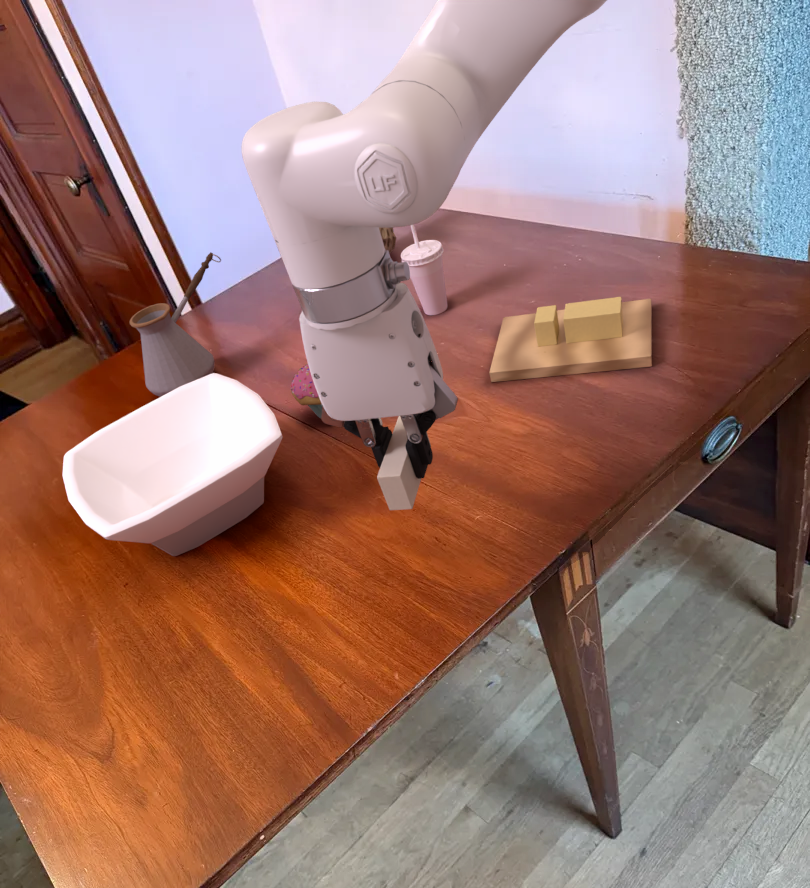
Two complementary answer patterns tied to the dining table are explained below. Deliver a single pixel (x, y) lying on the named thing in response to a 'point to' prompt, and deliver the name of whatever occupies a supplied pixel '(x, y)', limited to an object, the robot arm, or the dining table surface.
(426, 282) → the smoothie
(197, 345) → the coffee pot
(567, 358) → the board
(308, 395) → the cupcake
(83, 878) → the dining table surface
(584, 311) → the butter
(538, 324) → the butter slice
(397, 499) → the knife
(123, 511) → the bowl
